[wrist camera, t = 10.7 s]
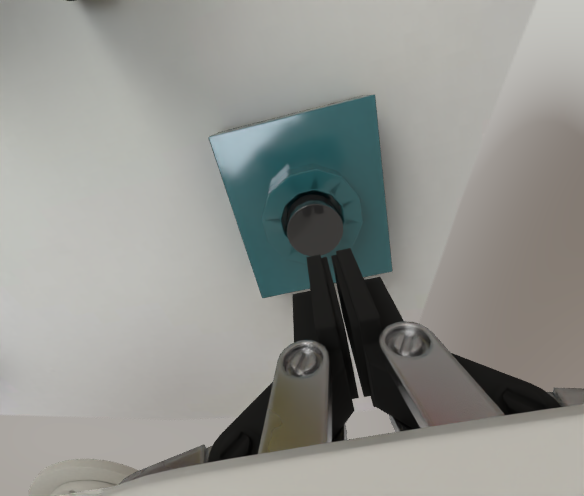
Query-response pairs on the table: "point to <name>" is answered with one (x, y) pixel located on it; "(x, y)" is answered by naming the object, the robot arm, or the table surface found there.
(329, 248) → the dark grey push button
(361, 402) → the table surface
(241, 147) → the teal push button box
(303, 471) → the robot arm
